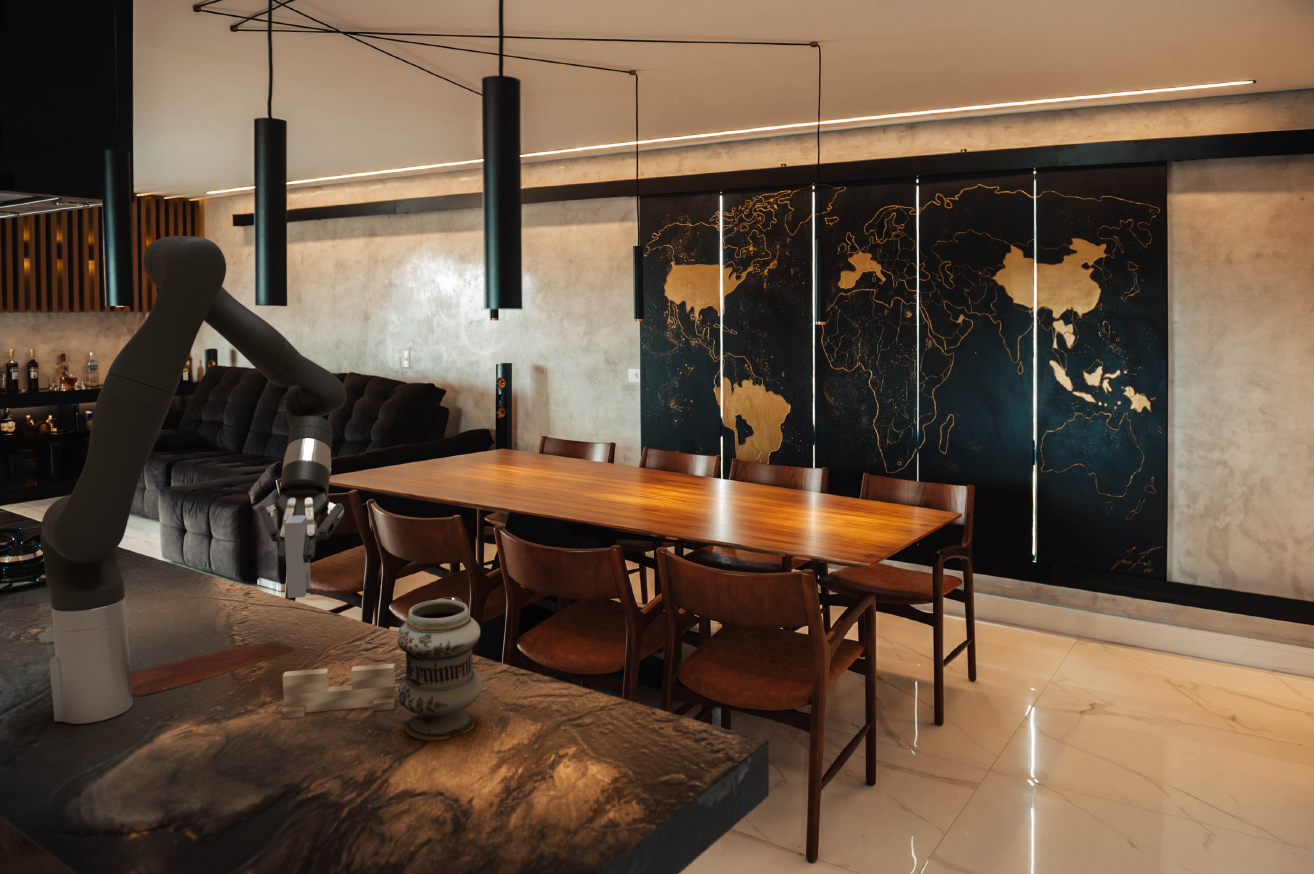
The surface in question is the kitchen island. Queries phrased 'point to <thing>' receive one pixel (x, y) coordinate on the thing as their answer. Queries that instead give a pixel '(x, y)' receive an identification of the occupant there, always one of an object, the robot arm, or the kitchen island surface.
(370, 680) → the birch slotted board
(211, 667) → the wooden tablet
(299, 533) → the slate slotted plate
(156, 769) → the kitchen island surface
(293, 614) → the kitchen island surface
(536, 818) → the kitchen island surface
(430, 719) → the apothecary jar
